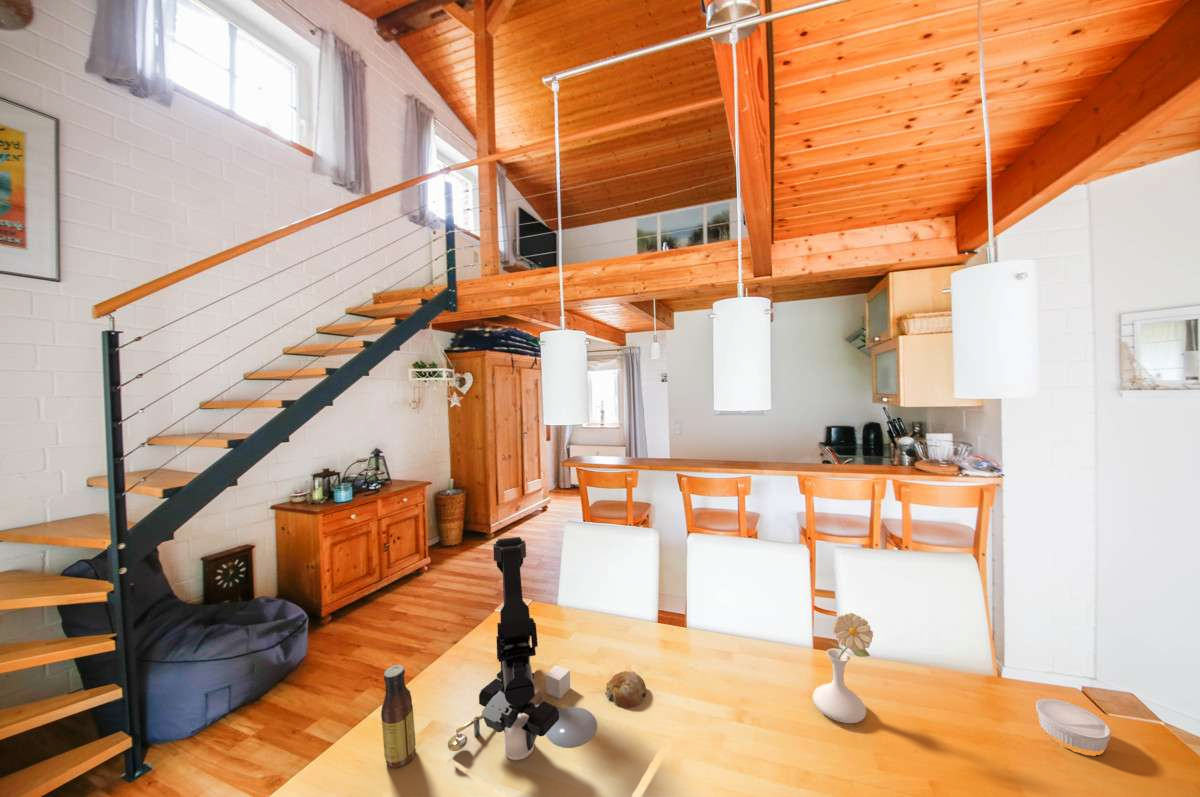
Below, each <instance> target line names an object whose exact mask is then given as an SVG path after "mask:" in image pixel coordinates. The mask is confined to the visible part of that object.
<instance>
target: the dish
mask: <svg viewBox="0 0 1200 797" xmlns="http://www.w3.org/2000/svg"><path fill="white" fill-rule="evenodd" d="M597 727H598V724H597V720H596V717H595V716H594V715H593V713H591V712H590V711H589V710H587V709H585V708H583V707H577V706H572V707H571V706H570V707H565V708H561V709H559V720H558V721H557V722H556V723H555V724H554V725H553V726H552V727H551V729H550V730H549V731H548V732H547V733H546V734H545V735H546V737H547V739H548V741H550V743H552V744H553V745H554V746H557V747H559V748H560V747H561V748H563V749H564V748H565V749H573V748H577V747H581V746H583V745H585V744H587V743H588V742H590V741H591V740H592V738H593V737H594V736H595V734H596V733H597V729H598V728H597Z"/></svg>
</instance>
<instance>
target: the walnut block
mask: <svg viewBox="0 0 1200 797" xmlns="http://www.w3.org/2000/svg"><path fill="white" fill-rule="evenodd" d="M534 692H535V697H534V698H533V699H531V702H532V703H534V704H536V705H538V704H541V703H542V702H543V696H542V695H543V692H542V687H539V686H537V685H536V684H534Z"/></svg>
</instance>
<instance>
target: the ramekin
mask: <svg viewBox="0 0 1200 797" xmlns="http://www.w3.org/2000/svg"><path fill="white" fill-rule="evenodd" d="M1035 710H1036V712H1037V715H1038V721H1039V726H1040V725H1041V726H1040V728H1041V727H1042V728H1043V729H1044V730H1045V731H1046V732H1047V733H1048V734H1050V735H1052V736H1054V737H1055V738H1057V739H1058V740H1060V741H1062V742H1065V743H1067V744H1070V745H1071V746H1075V747H1078V748H1081V749H1086V750H1092V751H1101V750H1104V749H1105V748H1106V749H1107V746H1108V743H1109V741H1110V739H1111V738H1112V734H1111V733H1112V732H1111V729H1110V727H1109V726H1108V724H1107V723H1106V722H1105V721H1104V720H1103V719H1101V718H1100V717H1098V716H1097V715H1095V714H1094V713H1092V712H1090V711H1089V710H1087V709H1085V708H1083V707H1081V706H1078V705H1076V704H1073V703H1071V702H1067V701H1065V700H1060V699H1055V698H1040V699H1038V700H1036V703H1035Z"/></svg>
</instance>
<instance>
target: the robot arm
mask: <svg viewBox="0 0 1200 797" xmlns="http://www.w3.org/2000/svg"><path fill="white" fill-rule="evenodd" d="M492 546H493V547H492V548H493V561H494V562H496V567H497V569H499V571H500V572H501V573H502V593H503V595H502V596H503V598H502V599H503V606H502V608H501V609H500V612H499V614H500V615H499V617H500V618H499V619H500V622H497V624H496V625H497V626H496V627H497V636H495V638H496V660H498V662H499V663H500V671H499V672H498V673H497V674H496V678H494V679H493V680H491V682H490V683H488V684H487V685H486V686H484V687H483V688H482V689H480V692H479V693H478V704H479V705H480V706H482V707H484V708H483V710H482V711H481V715H482V716H483V720H484V723H485V725H486V726H487V728H490V729H492V730H494V731H495V732H496V733H502V732H503V733H504V734H505V727H507V728H511V727H512V725H513V724H514V722H515V721H516V719H517V717H518V714H522V713H525V714H527V715H528V720H527V723H526V724H525V725H524V726H523V727H522V729H523V730H525V731H526V740H527V748H528V750H529V751H530V750H531V748H532V747H533V744H534V745H535V742H536V740H537V736H539V737H543V736H545V735H546V733H547V732H548V731H549V730H550V729H551V727H552V726H553V725H554V724H555V723H556V722H557V721H558V720H559V710H560V708H559V707H557V706H556V705H554V704H552V703H549V702H547V701H545V700H542V703H541V704H538V705H536V704H534V703H532V702H531V699H533V698H534V697H535V692H534V685H535V683H534V679H535V673H534V672H533V671H532V670H533V669H532V666H531V657H535V656H536V653H537V652H536V648H537V647H538V646H539V644H538V633H537V632H538V631H537V624H536V622H535V619H533V617H531V616H530V608H529V606H528V604H526V602H525V601H524V600H523V588H522V587H523V586H522V575H521V567H522V566H523V564H524V559H525V558H527V548H526V547H527V542H526V540H522V538H521V536H516V537H505V538H504V537H503V538H497V540H496V542H495V543H493V545H492Z"/></svg>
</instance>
